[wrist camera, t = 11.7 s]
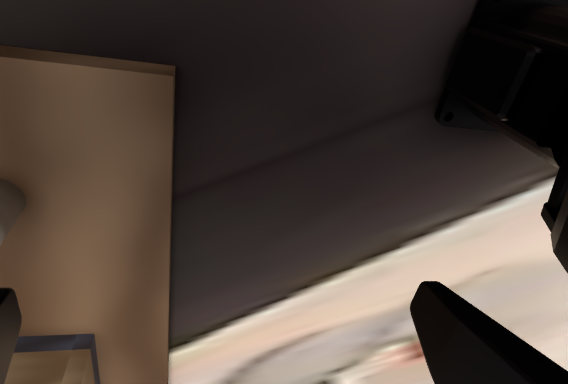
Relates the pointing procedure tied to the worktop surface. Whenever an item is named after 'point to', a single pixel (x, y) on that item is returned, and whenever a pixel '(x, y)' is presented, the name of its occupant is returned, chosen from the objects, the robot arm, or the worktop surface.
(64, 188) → the pin board
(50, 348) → the sleeve
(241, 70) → the worktop surface
